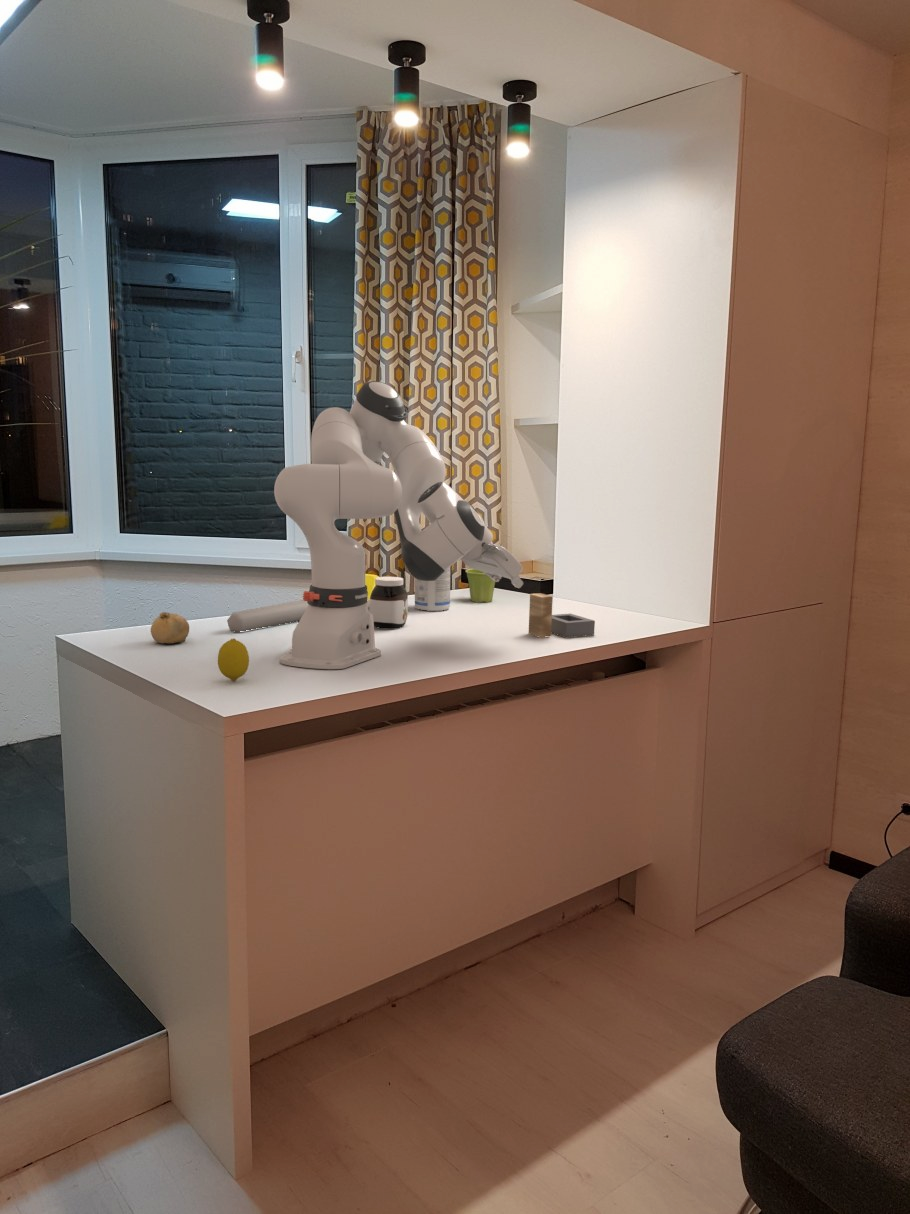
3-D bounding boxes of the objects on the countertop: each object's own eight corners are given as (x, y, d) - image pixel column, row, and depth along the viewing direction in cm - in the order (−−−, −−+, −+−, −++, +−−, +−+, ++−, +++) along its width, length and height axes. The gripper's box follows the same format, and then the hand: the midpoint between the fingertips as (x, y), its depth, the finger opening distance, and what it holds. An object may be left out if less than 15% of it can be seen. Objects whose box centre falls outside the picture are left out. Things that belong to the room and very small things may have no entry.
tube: (240, 618, 206) (318, 604, 226) (225, 608, 209) (303, 595, 229) (236, 639, 208) (313, 623, 228) (221, 629, 211) (299, 614, 231)
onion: (156, 639, 201) (155, 607, 200) (193, 639, 202) (192, 607, 200) (147, 647, 193) (146, 614, 192) (185, 647, 194) (184, 614, 193)
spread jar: (394, 631, 215) (394, 582, 213) (351, 626, 219) (351, 578, 217) (415, 622, 226) (415, 576, 224) (374, 618, 230) (374, 572, 228)
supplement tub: (448, 606, 251) (450, 552, 249) (450, 612, 242) (452, 557, 239) (413, 605, 251) (414, 552, 248) (414, 611, 241) (415, 556, 239)
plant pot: (487, 605, 254) (488, 574, 253) (458, 601, 259) (459, 571, 258) (503, 600, 262) (504, 570, 261) (474, 597, 267) (475, 567, 266)
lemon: (211, 683, 165) (210, 639, 164) (229, 676, 170) (229, 634, 169) (237, 686, 163) (237, 642, 162) (255, 679, 168) (254, 637, 167)
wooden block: (540, 637, 212) (541, 597, 211) (528, 633, 217) (530, 593, 215) (550, 636, 214) (552, 596, 212) (539, 632, 218) (540, 593, 216)
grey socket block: (566, 637, 213) (566, 622, 212) (542, 629, 221) (543, 615, 221) (594, 635, 216) (594, 620, 216) (569, 627, 225) (570, 613, 224)
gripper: (506, 535, 195) (542, 578, 201) (460, 526, 212) (495, 566, 219) (487, 557, 193) (524, 600, 200) (442, 546, 211) (478, 586, 217)
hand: (508, 582), depth 209 cm, fingers open, 8 cm apart
